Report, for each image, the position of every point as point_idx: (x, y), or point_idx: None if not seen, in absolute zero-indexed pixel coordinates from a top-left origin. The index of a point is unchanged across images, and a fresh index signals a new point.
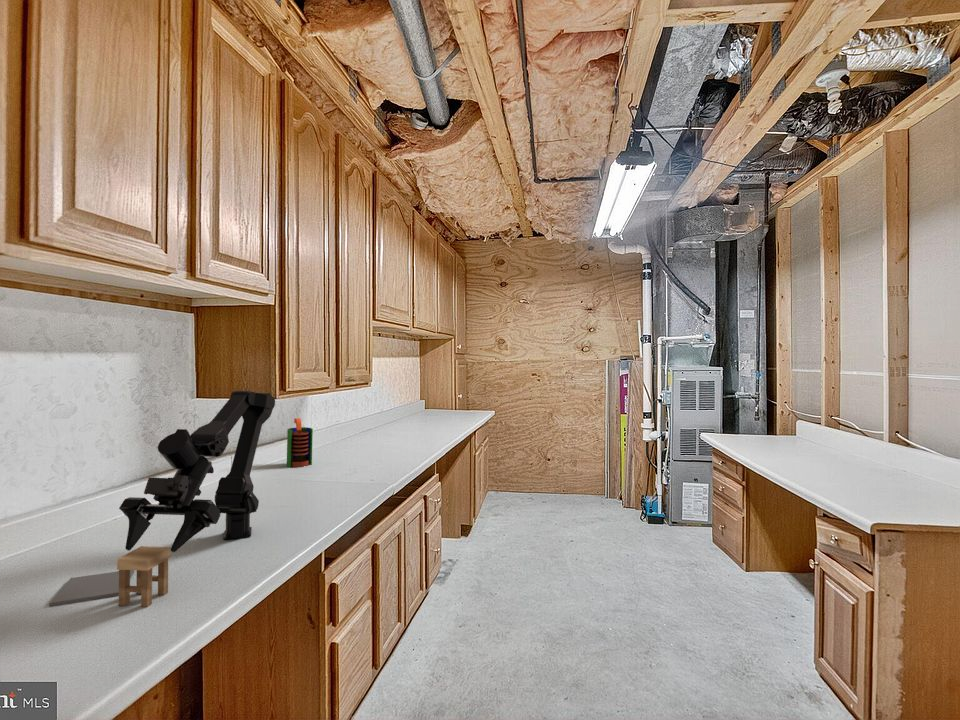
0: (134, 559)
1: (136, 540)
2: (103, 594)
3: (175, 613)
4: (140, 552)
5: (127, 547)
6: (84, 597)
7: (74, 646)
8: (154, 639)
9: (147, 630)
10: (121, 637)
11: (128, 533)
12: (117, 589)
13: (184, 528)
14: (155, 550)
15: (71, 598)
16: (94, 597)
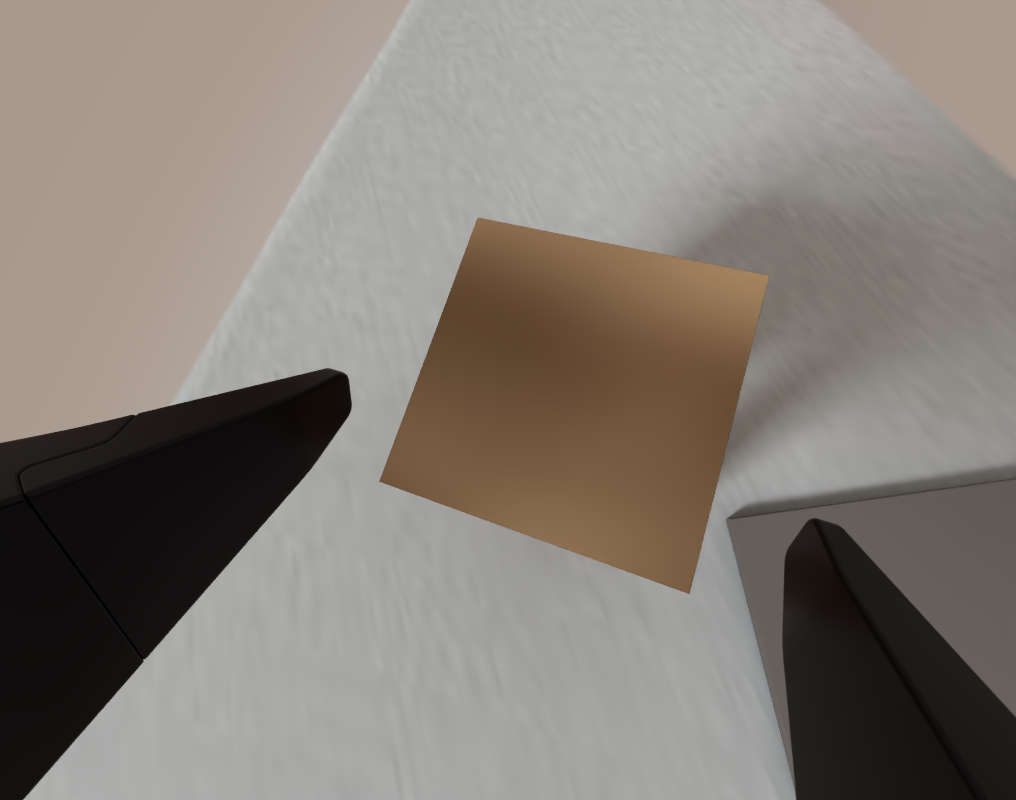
0: (595, 241)
1: (802, 696)
2: (819, 508)
3: (402, 284)
4: (614, 401)
5: (814, 518)
6: (917, 496)
7: (680, 111)
8: (424, 128)
9: (466, 181)
10: (539, 149)
11: (996, 709)
12: (770, 562)
13: (72, 440)
14: (487, 423)
15: (998, 502)
16: (859, 501)
